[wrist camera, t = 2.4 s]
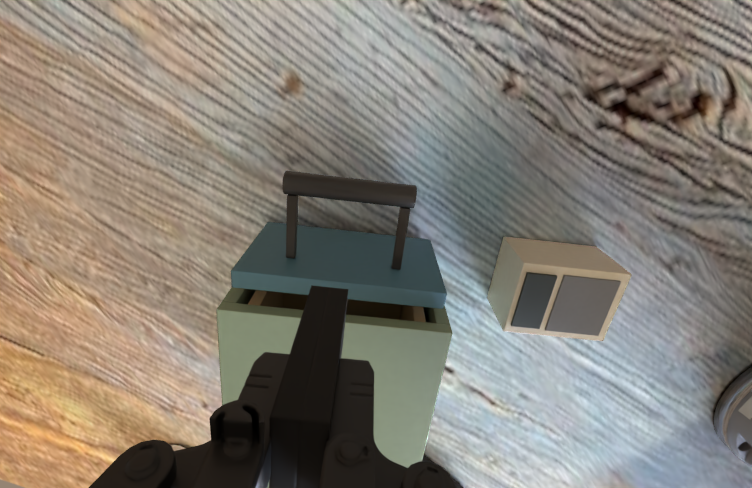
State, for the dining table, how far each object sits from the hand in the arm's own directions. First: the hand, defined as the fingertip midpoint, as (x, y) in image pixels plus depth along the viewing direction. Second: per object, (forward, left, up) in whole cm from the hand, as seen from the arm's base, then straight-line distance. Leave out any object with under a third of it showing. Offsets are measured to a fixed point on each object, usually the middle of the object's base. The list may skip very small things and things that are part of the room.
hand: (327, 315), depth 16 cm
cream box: (-17, +2, -16) cm, 24 cm away
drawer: (-1, +7, -15) cm, 17 cm away
